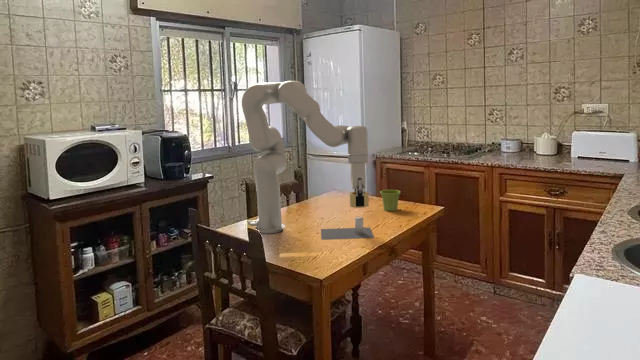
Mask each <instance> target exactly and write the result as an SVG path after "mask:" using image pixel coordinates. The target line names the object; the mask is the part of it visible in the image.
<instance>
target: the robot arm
mask: <svg viewBox="0 0 640 360" xmlns="http://www.w3.org/2000/svg"><path fill="white" fill-rule="evenodd" d="M272 104H286V106H288V108H290V109H291V110H292V111H293V112H294V113H295V114H296V115H297V116H299V117H300V118H301V119H302V120H303V121H304V123H305V125H306V126H307V127H308V128H309V130H310V131H311V132H312V134H313V135H315V137H316V138H317V139H319V140H320V141H321V142H322V143H323V144H325V145H326V146H327V147H330V148H337V147H340V146H344V145H347V162H348V163H349V164H350V187H351V189H352V190H353V192H354V191H356V207H362V206H364V192H363V191H364V190H365V188H366V164H367V163H369V156H368V155H369V148H368V147H369V146H368V144H369V143H368V128H367V127H366V126H365V125H353V126H349V125H343V124H341V125H335V126H334V125H333V124H332V123H331V122H330V121H329V120H328V119H327V118H326V117H325V116H324V115H323V114H322V111H321V106H320V103H318V101H317V100H315V99H314V98H313V97H312V96H310V95H309V94H308V93H307V88H306V86H305V84H304V83H302V81H298V80H287V81H282V82H281V81H279V82H258V83H254V84H251V85H250V86H249V87H247V88H246V90H245V91H244V93H243V95H242V97H241V108H242V112H243V115H244V120H245V124H246V128H247V129H246V130H247V132H248V137H249V141H250V142H249V143H250V145H251V147H252V149H253V151H256V152H263V154H262V155H259V156H258V157H257V158H256V159H255V161H254V163H253V167H252V168H253V170H252V171H253V175H254V180H255V185H256V187H255V189H256V199H257V201H256V202H257V219H255V220H252V219H251V220H248V221H247V226H250V227H255V228H254V230H255V229H257V230H259V231H260V232H261V233H260V234H276V233H280V232H283V230H284V229H285V227H286V224H284V223H283V222H282V205H281V203H282V202H281V189H280V187H281V186H280V181H279V177H278V175H279V174H281V173H282V172H284V171H285V169H286V168H287V166H288V165H287V164H288V162H287V154H286V150H285V146H284V141H283V137H282V135H281V133H280V131H279V130H278V129H277V127H274V126H270V125H269V122H268V118H267V115H266V112H265V110H264V108H263V106H264V105H272Z"/></svg>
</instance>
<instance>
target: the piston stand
mask: <svg viewBox="0 0 640 360" xmlns="http://www.w3.org/2000/svg"><path fill="white" fill-rule="evenodd" d="M320 237H321V241H323V240H325V241H326V240H351V239H353V240H354V239H355V240H357V239H374V238H375V236H374V233H373V230H372V229H371V227H369V226H367V227H364V217H362V216H355V217H354V227H345V228H344V227H343V228H342V227H341V228H321V229H320Z"/></svg>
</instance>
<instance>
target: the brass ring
mask: <svg viewBox="0 0 640 360" xmlns="http://www.w3.org/2000/svg"><path fill="white" fill-rule="evenodd" d="M363 192H364V206H362V207H356V191H354V190H353V191H351V192H349V207H350V208H353V209H354V208H355V209H361V208H362V209H363V208H366V207H369V206H370V205H369V204H370V202H369V192H368V191H364V190H363Z"/></svg>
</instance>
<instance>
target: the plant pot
mask: <svg viewBox="0 0 640 360" xmlns="http://www.w3.org/2000/svg"><path fill="white" fill-rule="evenodd" d="M379 193H380V195H381V198H382V206H383V210H384V211H389V212H395V211H397V210H398V206H399V198H400V194H401V191H400V190H398V189H383V190H380V191H379Z"/></svg>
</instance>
